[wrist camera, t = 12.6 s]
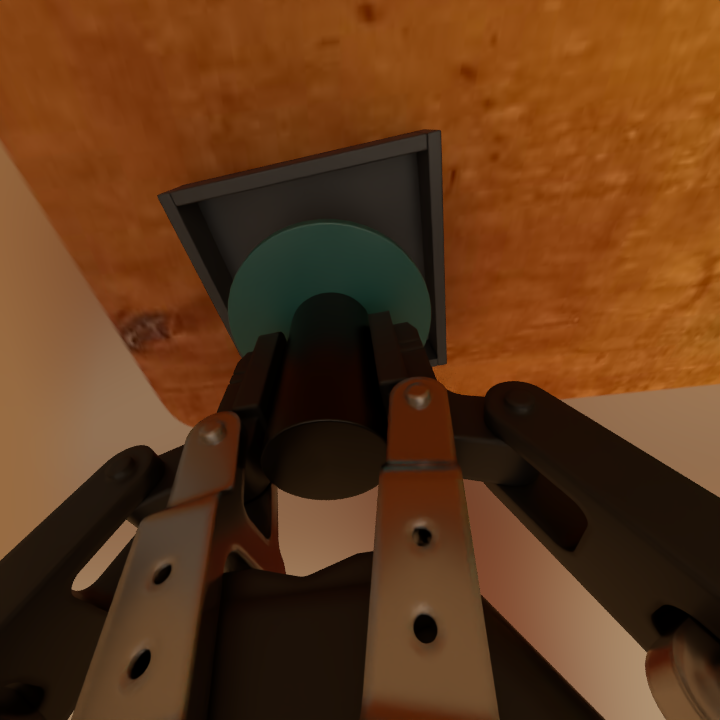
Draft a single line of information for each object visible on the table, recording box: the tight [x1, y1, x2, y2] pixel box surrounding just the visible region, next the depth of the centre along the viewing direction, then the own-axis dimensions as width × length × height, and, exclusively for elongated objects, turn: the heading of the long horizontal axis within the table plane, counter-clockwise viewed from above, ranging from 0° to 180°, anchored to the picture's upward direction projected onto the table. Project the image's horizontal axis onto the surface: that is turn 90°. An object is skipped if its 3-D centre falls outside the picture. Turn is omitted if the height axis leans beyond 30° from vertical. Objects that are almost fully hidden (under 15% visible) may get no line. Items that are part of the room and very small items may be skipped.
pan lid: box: [228, 219, 431, 500], centre depth 10 cm, size 8×8×7 cm
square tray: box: [157, 130, 447, 367], centre depth 15 cm, size 10×10×2 cm
